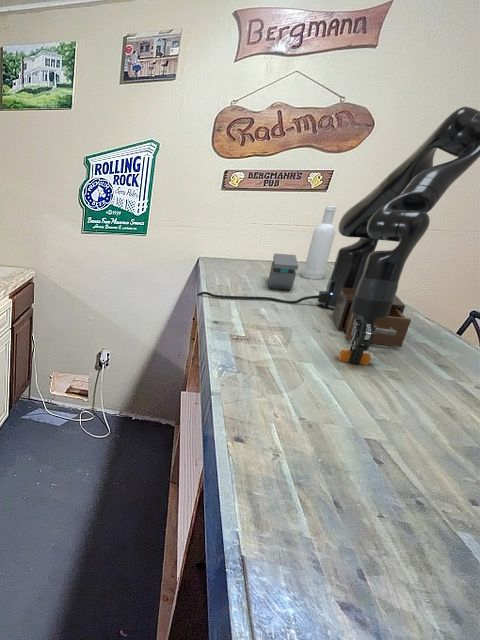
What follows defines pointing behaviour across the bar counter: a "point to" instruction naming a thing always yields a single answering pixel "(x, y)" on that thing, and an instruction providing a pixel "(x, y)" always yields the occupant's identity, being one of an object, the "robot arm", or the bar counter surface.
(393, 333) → the drawer
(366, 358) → the box cutter
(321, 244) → the bottle
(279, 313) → the bar counter surface
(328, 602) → the bar counter surface
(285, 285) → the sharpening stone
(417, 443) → the bar counter surface
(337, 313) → the cabinet
